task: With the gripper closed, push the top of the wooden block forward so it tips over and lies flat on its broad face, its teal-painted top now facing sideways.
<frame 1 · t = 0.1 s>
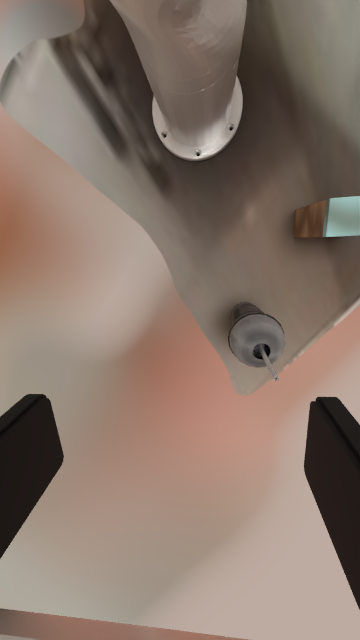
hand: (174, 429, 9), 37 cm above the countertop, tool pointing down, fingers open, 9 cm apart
wooden block: (318, 222, 39), on the countertop
beverage cup: (244, 314, 45), on the countertop
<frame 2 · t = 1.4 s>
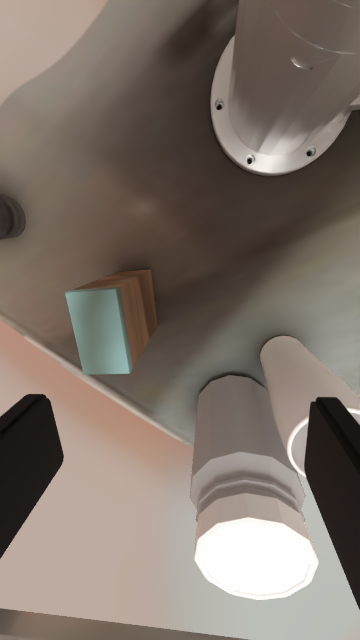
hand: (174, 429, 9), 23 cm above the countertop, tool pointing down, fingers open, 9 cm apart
wooden block: (138, 299, 32), on the countertop
beverage cup: (8, 217, 31), on the countertop
jar: (233, 401, 35), on the countertop
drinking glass: (280, 353, 32), on the countertop
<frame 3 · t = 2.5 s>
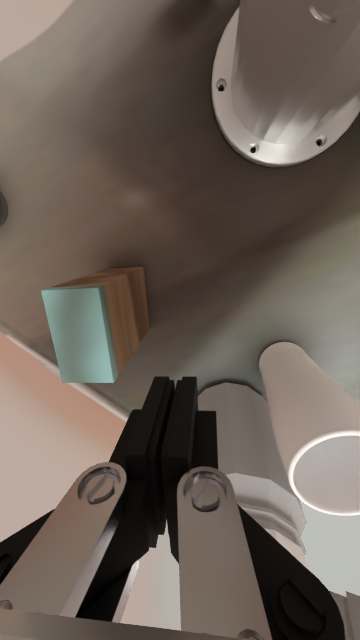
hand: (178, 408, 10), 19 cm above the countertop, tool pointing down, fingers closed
wooden block: (129, 298, 29), on the countertop
jar: (228, 410, 33), on the countertop
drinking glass: (281, 360, 30), on the countertop
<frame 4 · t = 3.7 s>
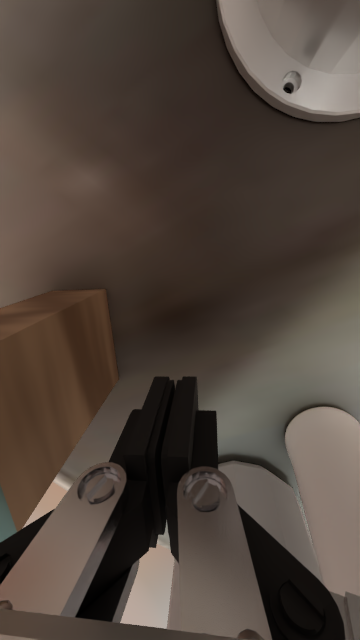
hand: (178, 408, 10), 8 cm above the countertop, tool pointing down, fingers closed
wooden block: (86, 336, 19), on the countertop
jar: (237, 495, 22), on the countertop
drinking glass: (318, 431, 19), on the countertop
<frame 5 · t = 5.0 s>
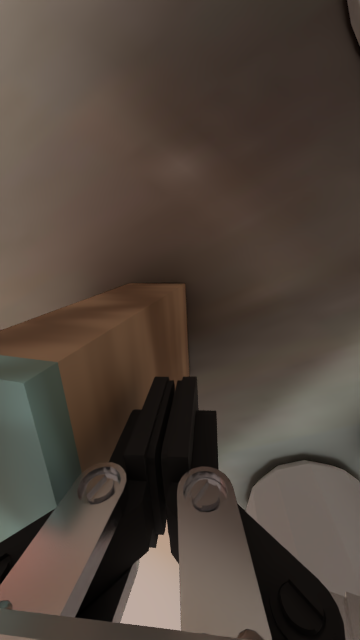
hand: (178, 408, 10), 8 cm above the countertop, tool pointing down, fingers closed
wooden block: (160, 333, 18), on the countertop, tilted 11°
jar: (302, 495, 22), on the countertop
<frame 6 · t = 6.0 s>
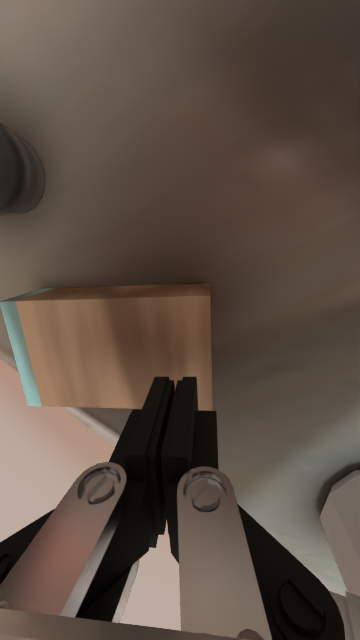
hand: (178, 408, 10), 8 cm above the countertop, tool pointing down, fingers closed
wooden block: (211, 343, 16), point 2 cm above the countertop, tilted 90°
beverage cup: (13, 175, 16), on the countertop
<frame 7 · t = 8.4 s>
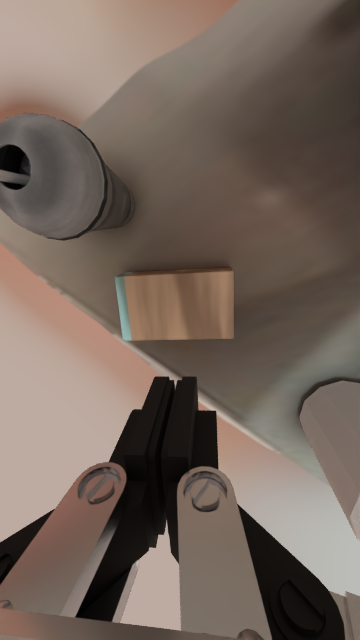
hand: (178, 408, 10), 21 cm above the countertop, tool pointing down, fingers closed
wooden block: (232, 301, 28), point 2 cm above the countertop, tilted 90°
beverage cup: (115, 205, 28), on the countertop
jar: (336, 409, 33), on the countertop
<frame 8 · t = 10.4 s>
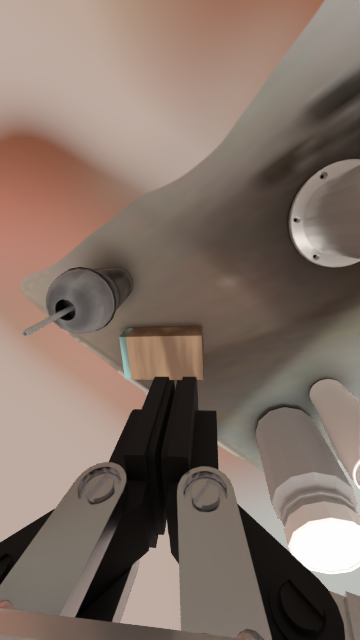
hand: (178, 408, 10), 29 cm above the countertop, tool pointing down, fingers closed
wooden block: (202, 352, 39), point 2 cm above the countertop, tilted 90°
beverage cup: (119, 283, 39), on the countertop
jar: (283, 426, 44), on the countertop
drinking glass: (325, 391, 41), on the countertop
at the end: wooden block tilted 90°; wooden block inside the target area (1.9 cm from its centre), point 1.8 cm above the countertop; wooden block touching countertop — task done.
